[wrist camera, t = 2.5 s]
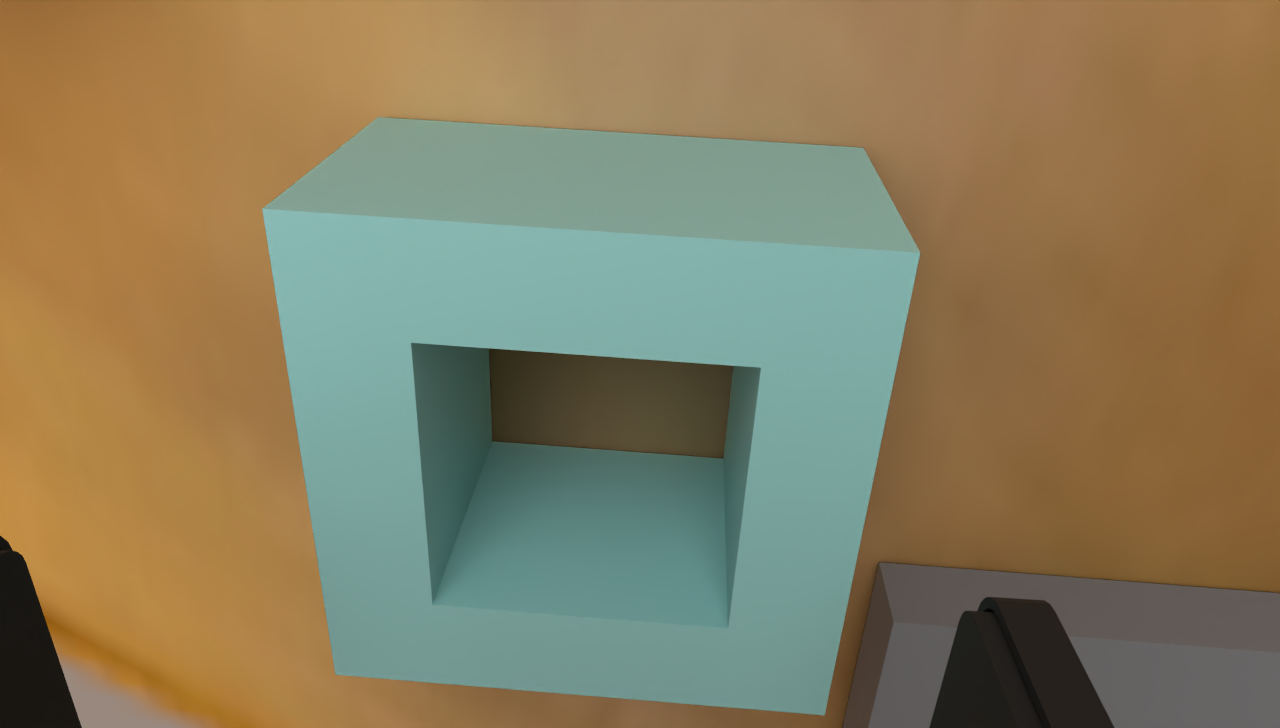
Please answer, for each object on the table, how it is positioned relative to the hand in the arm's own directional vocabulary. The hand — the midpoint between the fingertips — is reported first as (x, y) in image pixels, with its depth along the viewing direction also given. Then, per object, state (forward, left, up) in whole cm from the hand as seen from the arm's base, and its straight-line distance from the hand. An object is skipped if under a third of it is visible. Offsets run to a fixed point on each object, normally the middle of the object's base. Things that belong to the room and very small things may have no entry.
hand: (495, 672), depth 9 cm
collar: (-1, 0, -7) cm, 7 cm away
